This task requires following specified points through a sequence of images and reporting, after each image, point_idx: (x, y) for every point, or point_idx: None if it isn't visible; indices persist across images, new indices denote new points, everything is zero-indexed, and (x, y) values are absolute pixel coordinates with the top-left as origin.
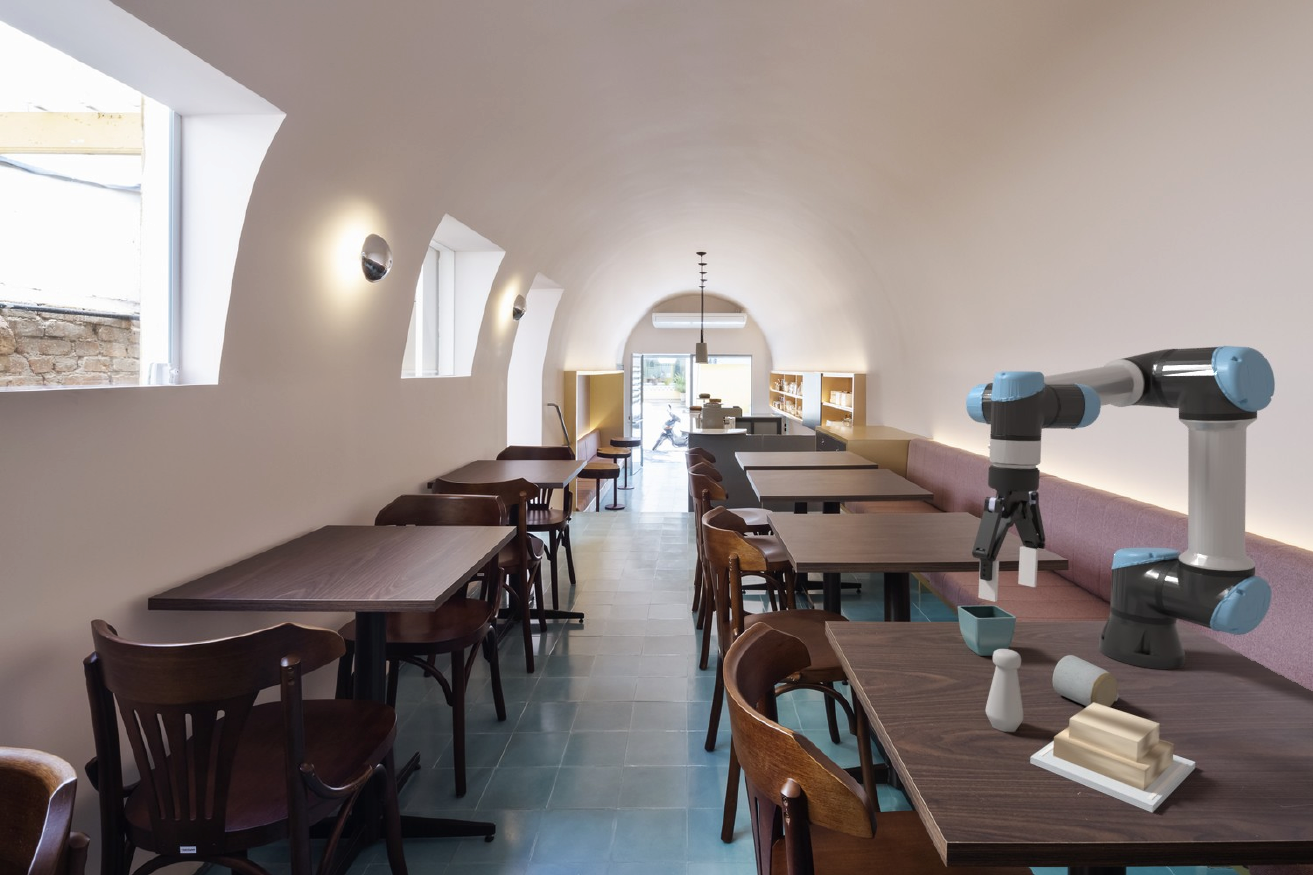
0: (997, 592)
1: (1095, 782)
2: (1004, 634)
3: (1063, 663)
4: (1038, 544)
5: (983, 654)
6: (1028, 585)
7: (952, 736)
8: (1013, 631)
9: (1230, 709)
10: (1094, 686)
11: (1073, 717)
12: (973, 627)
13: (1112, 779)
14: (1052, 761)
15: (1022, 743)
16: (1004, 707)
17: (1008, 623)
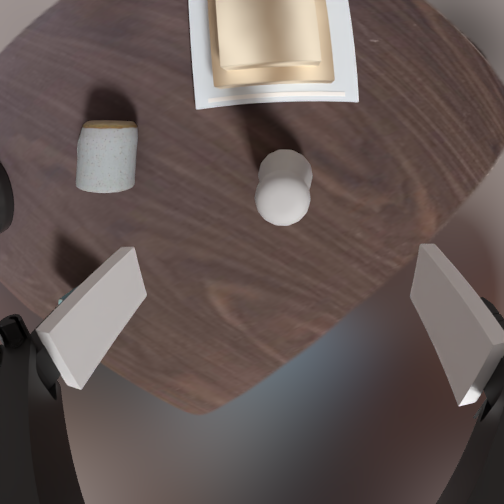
0: (433, 257)
1: (351, 28)
2: None
3: (108, 184)
4: (19, 344)
5: None
6: (138, 265)
7: (369, 200)
8: (72, 290)
9: (27, 72)
10: (124, 126)
11: (311, 58)
12: None
13: None
14: (346, 78)
15: (313, 131)
16: (307, 168)
17: None
